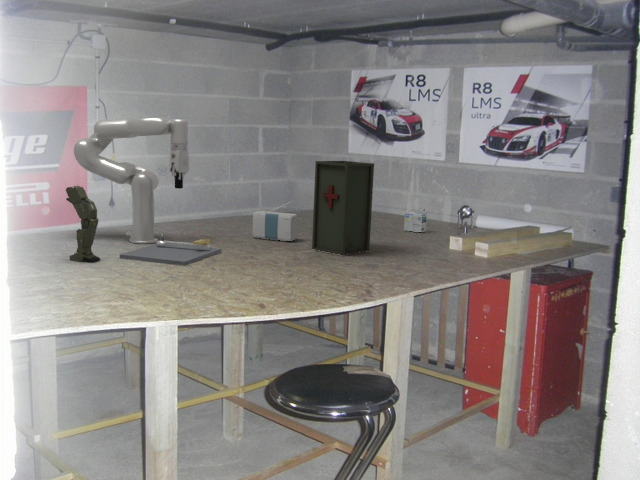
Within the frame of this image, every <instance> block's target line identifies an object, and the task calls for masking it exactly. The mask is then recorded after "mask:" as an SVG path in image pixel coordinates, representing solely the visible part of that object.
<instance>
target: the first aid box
mask: <svg viewBox="0 0 640 480" xmlns="http://www.w3.org/2000/svg"><path fill="white" fill-rule="evenodd" d="M374 169H375V163H373V162H372V163H371V162H363V161H362V162H361V161H360V162H359V161H349V160H315V167H314V188H313V190H314V195H313V216H312V217H313V218H312V238H311V239H312V243H311V250H312V249H315V250H320V251H325V252H330V253H335V254H340V255H347V254H353V253H359V252H365V253H367V252H366V251H369V252H370V247H371V246H370V243H371V230H372V229H371V226H372V210H373V192H374V191H373V190H374V172H375V170H374ZM315 250H314V251H315ZM320 251H319V252H320ZM325 252H324V253H325ZM330 253H329V254H330ZM359 254H360V253H359ZM353 255H354V254H353ZM347 256H348V255H347Z"/></svg>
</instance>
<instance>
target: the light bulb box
mask: <svg viewBox="0 0 640 480" xmlns="http://www.w3.org/2000/svg"><path fill="white" fill-rule="evenodd" d="M403 219H404V222H403V223H404V224H403V231H404V230H407V231H414V232H424V231H426V232H427V213H426V212H425V213H424V212H418V211H417V212H416V211H415V212H413V211H407V212H404V218H403Z"/></svg>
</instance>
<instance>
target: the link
mask: <svg viewBox="0 0 640 480" xmlns="http://www.w3.org/2000/svg"><path fill="white" fill-rule="evenodd" d="M156 244H157V246H158V247H174V248H185V249H196V250H210V249H211V248H212V247H211V246H212V245H211V244H210V245H208V244H201V245H197V244H193V242H182V241H173V240H172V241H171V240H165V234H164V233H160V239H158V241H157V242H156Z"/></svg>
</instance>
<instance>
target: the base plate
mask: <svg viewBox="0 0 640 480" xmlns="http://www.w3.org/2000/svg"><path fill="white" fill-rule="evenodd" d="M221 253H222V248H219V247H217V248H215V247H211V249H210V250H196V249H185V248H174V247H158V246H157V243H154V244H153V245H149V246H144V247H142V248H138V249H134V250H131V251H130V250H129V251H127V252H123V253H120V254H119V259H123V260H132V261H142V262H150V263H157V264H158V263H160V264H166V265H167V264H168V265H176V266H188V265H189V264H193V263H195V262H198V261H201V260H203V259H206V258H210V257H212V256H215V255H217V254H221Z"/></svg>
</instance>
